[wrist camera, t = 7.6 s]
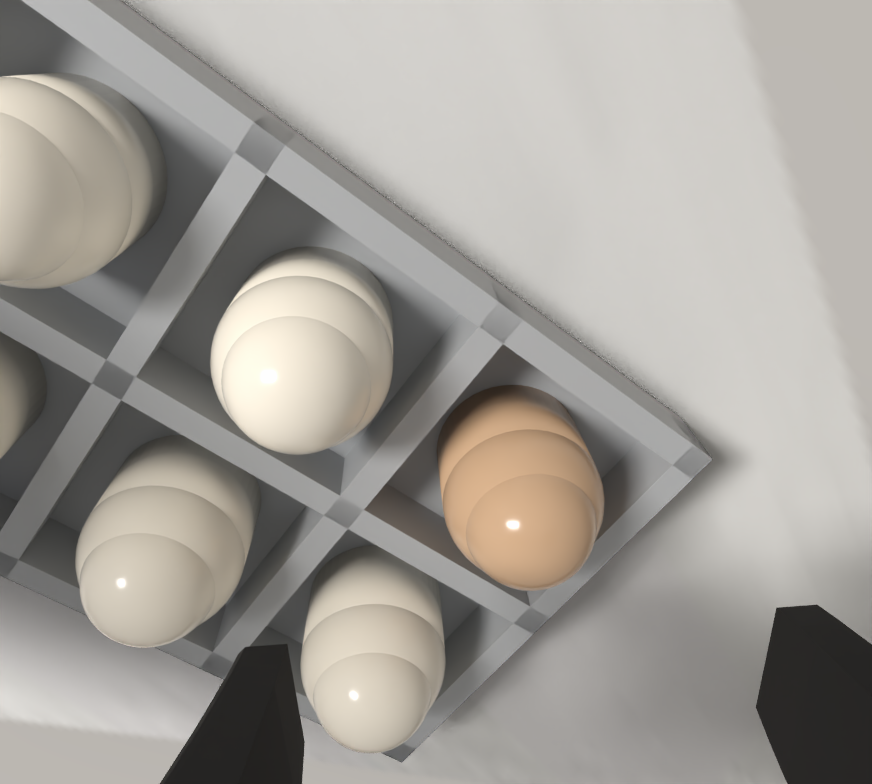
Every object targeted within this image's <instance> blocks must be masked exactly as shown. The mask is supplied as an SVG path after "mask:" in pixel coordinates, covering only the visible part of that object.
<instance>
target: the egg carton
mask: <svg viewBox="0 0 872 784" xmlns="http://www.w3.org/2000/svg"><path fill="white" fill-rule="evenodd" d="M56 72H60V73H72V74H77V75H82V76H86V77H89V78H92V79H95V80H97V81H99V82H101V83H103V84H105V85H107V86H109V87H111V88H112V89H114V90H116V91H117V92H119V93H120V94H121V95H123V96H124V97H125V98H126V99H128V100H129V101H130V102H131V103H132V104H133V105H134V106H135V107H136V108H137V109H138V110H139V111H140V112H141V114H142V115H143V116H144V117H145V119H146V120H147V121H148V123H149V124H150V126H151V127H152V129H153V131H154V132H155V134H156V136H157V138H158V141H159V143H160V145H161V148H162V151H163V154H164V158H165V162H166V167H167V177H168V182H167V194H166V199H165V203H164V206H163V209H162V212H161V214H160V216H159V218H158V220H157V221H156V223H155V224H154V225H153V227H152V228H151V229H150V230H149V231H148V232H147V233H146V234H145V235H144V236H143V237H142V238H141V239H139V240H138V241H137V242H135V243H134V244H133V245H131V246H130V247H129V248H127V249H126V250H125V251H123V252H122V253H121V254H119V255H118V256H117V257H116V258H114V259H113V260H112V261H110V262H109V263H108V264H106V265H105V266H104V267H102V268H101V269H100V270H98V271H97V272H95V273H93V274H91V275H90V276H88V277H86V278H84V279H82V280H80V281H77V282H74V283H72V284H68V285H63V286H59V287H54V288H45V289H28V288H17V287H10V286H6V285H2V284H0V332H2V333H4V334H5V335H7V336H9V337H11V338H12V339H14V340H16V341H18V342H20V343H21V344H23V345H25V346H27V347H28V348H30V349H32V350H34V351H35V352H36V354H37V355H38V357H39V359H40V361H41V363H42V366H43V369H44V372H45V377H46V382H47V395H46V401H45V405H44V408H43V410H42V412H41V414H40V416H39V418H38V419H37V420H36V422H35V423H34V424H33V425H32V426H31V427H30V428H29V429H28V430H27V431H26V432H25V434H24V435H23V436H22V437H21V438H20V439H19V440H18V441H17V442H16V443H15V444H14V445H13V446H12V447H11V448H10V449H9V450H8V451H7V452H6V453H5V454H4V455H3V457H2V458H1V459H0V576H3V577H5V578H7V579H9V580H11V581H13V582H15V583H18V584H20V585H22V586H24V587H26V588H28V589H30V590H33V591H35V592H37V593H39V594H41V595H43V596H45V597H48V598H50V599H52V600H54V601H56V602H58V603H61V604H63V605H65V606H67V607H69V608H71V609H73V610H76V611H78V612H80V613H82V614H84V615H86V616H87V614H86V612H85V610H84V608H83V605H82V602H81V596H80V586H79V583H78V579H77V574H76V568H75V557H76V548H77V543H78V539H79V536H80V533H81V530H82V528H83V526H84V524H85V522H86V520H87V519H88V517H89V515H90V513H91V512H92V510H93V509H94V507H95V506H96V504H97V503H98V501H99V500H100V498H101V496H102V495H103V493H104V492H105V490H106V489H107V487H108V486H109V484H110V483H111V481H112V480H113V478H114V476H115V475H116V473H117V472H118V470H119V469H120V467H121V466H122V464H123V463H124V461H125V460H126V459H127V457H128V456H129V455H130V454H131V453H132V452H133V451H134V450H135V449H137V448H138V447H140V446H141V445H143V444H145V443H147V442H149V441H151V440H154V439H157V438H160V437H165V436H171V435H183V436H185V437H187V438H188V439H190V440H192V441H194V442H195V443H197V444H199V445H201V446H203V447H204V448H206V449H208V450H210V451H211V452H213V453H215V454H217V455H218V456H220V457H222V458H224V459H225V460H227V461H229V462H231V463H232V464H234V465H236V466H238V467H239V468H241V469H243V470H245V471H247V472H248V473H250V474H252V475H254V476H255V477H256V479H257V482H258V485H259V488H260V493H261V509H260V513H259V517H258V520H257V524H256V527H255V531H254V534H253V538H252V541H251V545H250V548H249V552H248V555H247V558H246V562H245V565H244V569H243V572H242V575H241V578H240V581H239V583H238V585H237V587H236V589H235V591H234V592H233V594H232V595H231V597H230V598H229V600H228V601H227V602H226V603H225V604H224V605H223V607H222V608H221V609H220V610H219V611H218V612H217V613H216V614H214V615H213V616H212V617H211V618H209V619H208V620H206V621H205V622H203V623H202V624H200V625H199V626H197V627H196V628H195V629H194V630H192V631H191V632H190V633H188V634H187V635H185V636H184V637H182V638H180V639H178V640H176V641H173V642H171V643H169V644H165V645H161V646H156V647H155V648H157V649H159V650H161V651H164V652H166V653H168V654H170V655H172V656H174V657H176V658H179V659H181V660H183V661H185V662H187V663H189V664H191V665H194V666H196V667H198V668H200V669H202V670H204V671H206V672H209V673H211V674H213V675H215V676H217V677H219V678H221V679H225V677H226V676H227V674H228V672H229V670H230V668H231V667H232V665H233V663H234V661H235V659H236V657H237V655H238V654H239V652H241V651H242V650H243V649H244V648H245V647H250V646H264V645H277V644H288V650H289V656H290V662H291V667H292V673H293V679H294V685H295V691H296V696H297V702H298V708H299V714H300V715H301V716H303V717H305V718H307V719H310V720H312V721H314V722H316V723H318V724H320V725H321V723H320V721H319V719H318V716H317V714H316V711H315V710H314V709H313V707H312V705H311V704H310V702H309V700H308V698H307V696H306V693H305V690H304V687H303V683H302V678H301V666H300V662H301V652H302V646H303V639H304V632H305V626H306V619H307V613H308V606H309V600H310V593H311V587H312V584H313V581H314V579H315V577H316V575H317V573H318V572H319V571H320V569H321V568H322V567H323V566H324V565H325V564H326V563H327V562H328V561H329V560H331V559H332V558H333V557H335V556H337V555H338V554H340V553H343V552H345V551H347V550H350V549H353V548H357V547H362V546H370V545H377V546H378V547H380V548H382V549H384V550H386V551H387V552H389V553H391V554H393V555H394V556H396V557H398V558H400V559H401V560H403V561H405V562H407V563H408V564H410V565H412V566H414V567H415V568H417V569H419V570H421V571H422V572H424V573H426V574H428V575H430V576H431V577H433V578H435V579H437V581H438V584H439V588H440V598H441V610H442V622H443V633H444V645H445V657H446V664H445V673H444V679H443V682H442V686H441V689H440V691H439V694H438V696H437V698H436V700H435V701H434V703H433V705H432V706H431V708H430V709H429V711H428V712H427V714H426V716H425V719H424V720H423V722H422V724H421V725H420V727H419V728H418V729H417V731H416V732H415V733H414V734H413V735H412V736H411V737H410V738H409V739H408V740H407V741H405V742H404V743H402V744H401V745H399V746H397V747H396V748H393V749H391V750H388V751H385V752H380V753H382V754H385V755H387V756H389V757H391V758H393V759H395V760H398V761H400V762H403V761H404V760H405V759H406V758H407V757H408V756H409V755H410V754H411V753H412V752H413V751H414V750H415V749H416V748H417V747H418V746H419V745H420V744H421V743H422V742H423V741H424V740H425V739H426V738H427V737H428V736H429V735H430V734H431V733H433V732H434V731H435V730H436V729H437V728H438V727H439V726H440V725H441V724H442V723H443V722H444V721H445V720H446V719H447V718H448V717H449V716H450V715H451V714H452V713H453V712H454V711H455V710H456V709H457V708H458V707H459V706H460V705H461V704H462V703H463V702H464V701H465V700H466V699H467V698H468V697H469V696H470V695H471V694H473V693H474V692H475V691H476V690H477V689H478V688H479V687H480V686H481V685H482V684H483V683H484V682H485V681H486V680H487V679H488V678H489V677H490V676H491V675H492V674H493V673H494V672H495V671H496V670H497V669H498V668H499V667H500V666H501V665H502V664H503V663H504V662H505V661H506V660H507V659H508V658H509V657H510V656H511V655H513V654H514V653H515V652H516V651H517V650H518V649H519V648H520V647H521V646H522V645H523V644H524V643H525V642H526V641H527V640H528V639H529V638H530V637H531V636H532V635H533V634H534V633H535V632H536V631H537V630H538V629H539V628H540V627H541V626H542V625H543V624H544V623H545V622H546V621H547V620H548V619H549V618H550V617H552V616H553V615H554V614H555V613H556V612H557V611H558V610H559V609H560V608H561V607H562V606H563V605H564V604H565V603H566V602H567V601H568V600H569V599H570V598H571V597H572V596H573V595H574V594H575V593H576V592H577V591H578V590H579V589H580V588H581V587H582V586H583V585H584V584H585V583H586V582H587V581H588V580H589V579H590V578H592V577H593V576H594V575H595V574H596V573H597V572H598V571H599V570H600V569H601V568H602V567H603V566H604V565H605V564H606V563H607V562H608V561H609V560H610V559H611V558H612V557H613V556H614V555H615V554H616V553H617V552H618V551H619V550H620V549H621V548H622V547H623V546H624V545H625V544H626V543H627V542H628V541H629V540H631V539H632V538H633V537H634V536H635V535H636V534H637V533H638V532H639V531H640V530H641V529H642V528H643V527H644V526H645V525H646V524H647V523H648V522H649V521H650V520H651V519H652V518H653V517H654V516H655V515H656V514H657V513H658V512H659V511H660V510H661V509H662V508H663V507H664V506H665V505H666V504H667V503H668V502H669V501H671V500H672V499H673V498H674V497H675V496H676V495H677V494H678V493H679V492H680V491H681V490H682V489H683V488H684V487H685V486H686V485H687V484H688V483H689V482H690V481H691V480H692V479H693V478H694V477H695V476H696V475H697V474H698V473H699V472H700V471H701V470H702V469H703V468H704V467H705V466H706V465H707V464H708V463H709V462H711V461H712V460H713V459H712V458H711V456H710V455H709V454H708V452H707V451H706V450H705V448H704V447H703V446H702V445H701V443H700V442H699V441H698V439H697V438H696V437H695V436H694V434H693V433H692V432H691V430H690V429H689V428H688V427H687V425H686V424H685V423H684V421H683V420H682V419H681V418H680V417H679V416H678V415H676V414H675V413H674V412H672V411H671V410H669V409H668V408H667V407H665V406H664V405H663V404H661V403H660V402H659V401H657V400H656V399H655V398H653V397H652V396H651V395H649V394H648V393H647V392H645V391H644V390H643V389H641V388H640V387H639V386H637V385H636V384H635V383H633V382H632V381H631V380H629V379H628V378H627V377H625V376H624V375H623V374H621V373H620V372H618V371H617V370H616V369H614V368H613V367H612V366H610V365H609V364H608V363H606V362H605V361H604V360H602V359H601V358H600V357H598V356H597V355H596V354H594V353H593V352H592V351H590V350H589V349H588V348H586V347H585V346H584V345H582V344H581V343H580V342H578V341H577V340H576V339H574V338H573V337H572V336H570V335H569V334H567V333H566V332H565V331H563V330H562V329H561V328H559V327H558V326H557V325H555V324H554V323H553V322H551V321H550V320H549V319H547V318H546V317H545V316H543V315H542V314H541V313H539V312H538V311H537V310H535V309H534V308H533V307H531V306H530V305H529V304H527V303H526V302H525V301H523V300H522V299H520V298H519V297H518V296H516V295H515V294H514V293H512V292H511V291H510V290H508V289H507V288H506V287H504V286H503V285H502V284H500V283H499V282H498V281H496V280H495V279H494V278H492V277H491V276H490V275H488V274H487V273H486V272H484V271H483V270H482V269H480V268H479V267H478V266H476V265H475V264H474V263H472V262H471V261H469V260H468V259H467V258H465V257H464V256H463V255H461V254H460V253H459V252H457V251H456V250H455V249H453V248H452V247H451V246H449V245H448V244H447V243H445V242H444V241H443V240H441V239H440V238H439V237H437V236H436V235H435V234H433V233H432V232H431V231H429V230H428V229H427V228H425V227H424V226H422V225H421V224H420V223H418V222H417V221H416V220H414V219H413V218H412V217H410V216H409V215H408V214H406V213H405V212H404V211H402V210H401V209H400V208H398V207H397V206H396V205H394V204H393V203H392V202H390V201H389V200H388V199H386V198H385V197H384V196H382V195H381V194H380V193H378V192H377V191H376V190H374V189H373V188H371V187H370V186H369V185H367V184H366V183H365V182H363V181H362V180H361V179H359V178H358V177H357V176H355V175H354V174H353V173H351V172H350V171H349V170H347V169H346V168H345V167H343V166H342V165H341V164H339V163H338V162H337V161H335V160H334V159H333V158H331V157H330V156H329V155H327V154H326V153H325V152H323V151H322V150H320V149H319V148H318V147H316V146H315V145H314V144H312V143H311V142H310V141H308V140H307V139H306V138H304V137H303V136H302V135H300V134H299V133H298V132H296V131H295V130H294V129H292V128H291V127H290V126H288V125H287V124H286V123H284V122H283V121H282V120H280V119H279V118H278V117H276V116H275V115H273V114H272V113H271V112H269V111H268V110H267V109H265V108H264V107H263V106H261V105H260V104H259V103H257V102H256V101H255V100H253V99H252V98H251V97H249V96H248V95H247V94H245V93H244V92H243V91H241V90H240V89H239V88H237V87H236V86H235V85H233V84H232V83H231V82H229V81H228V80H227V79H225V78H224V77H222V76H221V75H220V74H218V73H217V72H216V71H214V70H213V69H212V68H210V67H209V66H208V65H206V64H205V63H204V62H202V61H201V60H200V59H198V58H197V57H196V56H194V55H193V54H192V53H190V52H189V51H188V50H186V49H185V48H184V47H182V46H181V45H180V44H178V43H177V42H176V41H174V40H173V39H171V38H170V37H169V36H167V35H166V34H165V33H163V32H162V31H161V30H159V29H158V28H157V27H155V26H154V25H153V24H151V23H150V22H149V21H147V20H146V19H145V18H143V17H142V16H141V15H139V14H138V13H137V12H135V11H134V10H133V9H131V8H130V7H129V6H127V5H126V4H124V3H123V2H122V1H120V0H0V77H2V76H15V75H29V74H43V73H56ZM305 246H314V247H324V248H329V249H333V250H336V251H339V252H342V253H344V254H346V255H349V256H351V257H352V258H354V259H356V260H357V261H359V262H360V263H361V264H363V265H364V266H365V267H366V268H368V269H369V270H370V271H371V272H372V273H373V275H374V276H375V277H376V278H377V279H378V281H379V282H380V283H381V285H382V287H383V288H384V290H385V292H386V294H387V297H388V299H389V302H390V305H391V309H392V315H393V373H392V378H391V384H390V388H389V391H388V394H387V396H386V398H385V400H384V402H383V404H382V406H381V408H380V410H379V411H378V413H377V414H376V416H375V417H374V418H373V419H372V421H371V422H370V423H369V424H368V425H367V426H366V427H365V428H364V429H363V430H361V431H360V432H359V433H358V434H357V435H355V436H354V437H352V438H350V439H349V440H347V441H345V442H343V443H341V444H339V445H336V446H333V447H330V448H328V449H325V450H322V451H319V452H315V453H310V454H302V455H294V454H285V453H280V452H276V451H273V450H270V449H267V448H265V447H263V446H261V445H259V444H258V443H256V442H255V441H253V440H252V439H250V438H249V437H248V436H247V435H246V434H245V433H244V432H243V431H242V430H241V429H240V428H239V427H238V426H237V424H236V423H235V422H234V421H233V420H232V419H231V418H230V417H229V415H228V414H227V412H226V411H225V410H224V408H223V406H222V405H221V403H220V401H219V399H218V396H217V394H216V391H215V388H214V385H213V380H212V376H211V366H210V359H211V347H212V342H213V338H214V335H215V332H216V329H217V327H218V324H219V322H220V320H221V318H222V317H223V315H224V313H225V312H226V310H227V308H228V307H229V305H230V304H231V302H232V301H233V299H234V297H235V296H236V294H237V293H238V291H239V290H240V288H241V286H242V285H243V283H244V282H245V280H246V279H247V277H248V276H249V275H250V273H251V272H252V271H253V270H254V269H255V268H256V267H257V266H258V265H259V264H260V263H262V262H263V261H264V260H266V259H267V258H269V257H271V256H273V255H275V254H276V253H279V252H281V251H284V250H287V249H291V248H296V247H305ZM502 385H523V386H529V387H533V388H536V389H539V390H542V391H544V392H546V393H548V394H550V395H551V396H553V397H555V398H556V399H557V400H558V401H559V402H561V403H562V404H563V406H564V407H565V408H566V409H567V410H568V412H569V413H570V415H571V416H572V418H573V420H574V422H575V424H576V426H577V428H578V431H579V433H580V435H581V437H582V439H583V441H584V443H585V445H586V447H587V449H588V451H589V453H590V455H591V457H592V459H593V461H594V463H595V465H596V467H597V469H598V472H599V474H600V477H601V481H602V484H603V491H604V500H605V504H604V516H603V521H602V525H601V528H600V530H599V533H598V536H597V538H596V540H595V543H594V546H593V549H592V551H591V554H590V556H589V557H588V559H587V561H586V562H585V564H584V565H583V566H582V568H581V569H580V570H579V571H578V572H577V573H576V574H575V575H574V576H573V577H571V578H570V579H568V580H567V581H565V582H563V583H562V584H560V585H557V586H555V587H552V588H549V589H545V590H538V591H524V590H517V589H513V588H510V587H508V586H505V585H503V584H501V583H499V582H497V581H495V580H494V579H492V578H491V577H490V576H488V575H487V574H486V573H485V572H484V571H482V570H481V569H479V568H478V567H476V566H475V565H474V564H473V563H471V562H470V561H469V560H468V559H467V558H466V557H465V556H464V555H463V553H462V552H461V551H460V550H459V548H458V547H457V546H456V544H455V542H454V541H453V539H452V537H451V535H450V533H449V530H448V528H447V525H446V521H445V517H444V512H443V505H442V497H441V488H440V480H439V471H438V462H437V442H438V437H439V434H440V431H441V429H442V426H443V425H444V423H445V421H446V419H447V418H448V417H449V415H450V414H451V413H452V411H453V410H454V409H455V408H456V407H457V406H458V405H459V404H461V403H462V402H463V401H464V400H466V399H467V398H469V397H471V396H472V395H474V394H476V393H478V392H480V391H482V390H486V389H489V388H492V387H497V386H502Z"/></svg>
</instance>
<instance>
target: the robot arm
mask: <svg viewBox="0 0 872 784" xmlns="http://www.w3.org/2000/svg"><path fill="white" fill-rule="evenodd" d="M756 708H757V711H758V714H759V716H760V719H761V721H762V724H763V726H764V729H765V731H766V734H767V736H768V739H769V742H770V744H771V746H772V749H773V751H774V754H775V756H776V758H777V761H778V763H779V765H780V768H781V770H782V772H783V775H784V777H785V779H786V781H787V783H788V784H872V645H871V644H870V643H869V642H867V641H866V640H865V639H863V638H862V637H861V636H859V635H858V634H857V633H855V632H854V631H853V630H851V629H850V628H849V627H847V626H846V625H845V624H843V623H842V622H841V621H839V620H838V619H836V618H835V617H834V616H832V615H831V614H829V613H828V612H827V611H825V610H824V609H822V608H821V607H820V606H818V605H808V606H795V607H781V608H776V613H775V618H774V623H773V628H772V633H771V637H770V642H769V647H768V652H767V657H766V662H765V666H764V671H763V676H762V681H761V686H760V690H759V695H758V700H757V705H756ZM303 757H304V737H303V731H302V725H301V720H300V714H299V708H298V702H297V696H296V691H295V685H294V679H293V673H292V667H291V662H290V656H289V650H288V644H277V645H264V646H250V647H245V648H244V649H243V650H242V651H241V652H239V654H238V655H237V657H236V659H235V661H234V663H233V665H232V667H231V668H230V670H229V672H228V674H227V676H226V677H225V679H224V681H223V683H222V684H221V686H220V688H219V690H218V691H217V693H216V695H215V697H214V698H213V700H212V702H211V703H210V705H209V707H208V708H207V710H206V712H205V713H204V715H203V717H202V718H201V720H200V722H199V723H198V725H197V727H196V728H195V730H194V732H193V733H192V735H191V736H190V738H189V739H188V741H187V743H186V744H185V746H184V747H183V749H182V750H181V752H180V754H179V755H178V757H177V758H176V760H175V761H174V763H173V764H172V766H171V767H170V769H169V771H168V772H167V774H166V775H165V777H164V778H163V780H162V781H161V783H160V784H302V772H303Z"/></svg>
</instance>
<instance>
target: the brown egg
mask: <svg viewBox="0 0 872 784" xmlns="http://www.w3.org/2000/svg"><path fill="white" fill-rule="evenodd" d="M437 462H438V471H439V480H440V488H441V497H442V505H443V512H444V517H445V521H446V525H447V528H448V530H449V533H450V535H451V537H452V539H453V541H454V542H455V544H456V546H457V547H458V548H459V550H460V551H461V552H462V553H463V555H464V556H465V557H466V558H467V559H468V560H469V561H470V562H471V563H473V564H474V565H475V566H476V567H478V568H479V569H481V570H482V571H484V572H485V573H486V574H487V575H488V576H490V577H491V578H492V579H494V580H495V581H497V582H499V583H501V584H503V585H505V586H508V587H510V588H513V589H517V590H524V591H538V590H545V589H549V588H552V587H555V586H557V585H560V584H562V583H563V582H565V581H567V580H568V579H570V578H571V577H573V576H574V575H575V574H576V573H577V572H578V571H579V570H580V569H581V568H582V566H583V565H584V564H585V562H586V561H587V559H588V557H589V556H590V554H591V551H592V549H593V546H594V543H595V540H596V538H597V536H598V533H599V530H600V528H601V525H602V521H603V516H604V504H605V500H604V491H603V484H602V481H601V477H600V474H599V472H598V469H597V467H596V465H595V463H594V461H593V459H592V457H591V455H590V453H589V451H588V449H587V447H586V445H585V443H584V441H583V439H582V437H581V435H580V433H579V431H578V428H577V426H576V424H575V422H574V420H573V418H572V416H571V415H570V413H569V412H568V410H567V409H566V408H565V407H564V406H563V404H562V403H561V402H559V401H558V400H557V399H556V398H555V397H553V396H551V395H550V394H548V393H546V392H544V391H542V390H539V389H536V388H533V387H529V386H523V385H502V386H497V387H492V388H489V389H486V390H482V391H480V392H478V393H476V394H474V395H472V396H471V397H469V398H467V399H466V400H464V401H463V402H462V403H461V404H459V405H458V406H457V407H456V408H455V409H454V410H453V411H452V413H451V414H450V415H449V417H448V418H447V419H446V421H445V423H444V425H443V426H442V429H441V431H440V434H439V437H438V442H437Z"/></svg>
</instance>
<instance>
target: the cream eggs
mask: <svg viewBox="0 0 872 784" xmlns="http://www.w3.org/2000/svg"><path fill="white" fill-rule="evenodd" d="M167 182H168V177H167V167H166V162H165V158H164V154H163V151H162V148H161V145H160V143H159V141H158V138H157V136H156V134H155V132H154V131H153V129H152V127H151V126H150V124H149V123H148V121H147V120H146V119H145V117H144V116H143V115H142V114H141V112H140V111H139V110H138V109H137V108H136V107H135V106H134V105H133V104H132V103H131V102H130V101H129V100H128V99H126V98H125V97H124V96H123V95H121V94H120V93H119V92H117V91H116V90H114V89H112V88H111V87H109V86H107V85H105V84H103V83H101V82H99V81H97V80H95V79H92V78H89V77H86V76H82V75H77V74H72V73H60V72H56V73H43V74H29V75H15V76H2V77H0V284H2V285H6V286H10V287H17V288H28V289H45V288H54V287H59V286H63V285H68V284H72V283H74V282H77V281H80V280H82V279H84V278H86V277H88V276H90V275H91V274H93V273H95V272H97V271H98V270H100V269H101V268H102V267H104V266H105V265H106V264H108V263H109V262H110V261H112V260H113V259H114V258H116V257H117V256H118V255H119V254H121V253H122V252H123V251H125V250H126V249H127V248H129V247H130V246H131V245H133V244H134V243H135V242H137V241H138V240H139V239H141V238H142V237H143V236H144V235H145V234H146V233H147V232H148V231H149V230H150V229H151V228H152V227H153V225H154V224H155V223H156V221H157V220H158V218H159V216H160V214H161V212H162V209H163V206H164V203H165V199H166V194H167ZM210 366H211V376H212V380H213V385H214V388H215V391H216V394H217V396H218V399H219V401H220V403H221V405H222V406H223V408H224V410H225V411H226V412H227V414H228V415H229V417H230V418H231V419H232V420H233V421H234V422H235V423H236V424H237V426H238V427H239V428H240V429H241V430H242V431H243V432H244V433H245V434H246V435H247V436H248V437H249V438H250V439H252V440H253V441H255V442H256V443H258V444H259V445H261V446H263V447H265V448H267V449H270V450H273V451H276V452H280V453H285V454H294V455H302V454H310V453H315V452H319V451H322V450H325V449H328V448H330V447H333V446H336V445H339V444H341V443H343V442H345V441H347V440H349V439H350V438H352V437H354V436H355V435H357V434H358V433H359V432H360V431H361V430H363V429H364V428H365V427H366V426H367V425H368V424H369V423H370V422H371V421H372V419H373V418H374V417H375V416H376V414H377V413H378V411H379V410H380V408H381V406H382V404H383V402H384V400H385V398H386V396H387V394H388V391H389V388H390V384H391V378H392V373H393V315H392V309H391V305H390V302H389V299H388V297H387V294H386V292H385V290H384V288H383V287H382V285H381V283H380V282H379V281H378V279H377V278H376V277H375V276H374V275H373V273H372V272H371V271H370V270H369V269H368V268H366V267H365V266H364V265H363V264H361V263H360V262H359V261H357V260H356V259H354V258H352V257H351V256H349V255H346V254H344V253H342V252H339V251H336V250H333V249H329V248H324V247H314V246H305V247H296V248H291V249H287V250H284V251H281V252H279V253H276V254H275V255H273V256H271V257H269V258H267V259H266V260H264V261H263V262H262V263H260V264H259V265H258V266H257V267H256V268H255V269H254V270H253V271H252V272H251V273H250V275H249V276H248V277H247V279H246V280H245V282H244V283H243V285H242V286H241V288H240V290H239V291H238V293H237V294H236V296H235V297H234V299H233V301H232V302H231V304H230V305H229V307H228V308H227V310H226V312H225V313H224V315H223V317H222V318H221V320H220V322H219V324H218V327H217V329H216V332H215V335H214V338H213V342H212V347H211V359H210ZM46 395H47V382H46V377H45V372H44V369H43V366H42V363H41V361H40V359H39V357H38V355H37V354H36V352H35V351H34V350H32V349H30V348H28V347H27V346H25V345H23V344H21V343H20V342H18V341H16V340H14V339H12V338H11V337H9V336H7V335H5V334H4V333H2V332H0V459H1V458H2V457H3V455H4V454H5V453H6V452H7V451H8V450H9V449H10V448H11V447H12V446H13V445H14V444H15V443H16V442H17V441H18V440H19V439H20V438H21V437H22V436H23V435H24V434H25V432H26V431H27V430H28V429H29V428H30V427H31V426H32V425H33V424H34V423H35V422H36V420H37V419H38V418H39V416H40V414H41V412H42V410H43V408H44V405H45V401H46ZM260 509H261V493H260V488H259V485H258V482H257V479H256V477H255V476H254V475H252V474H250V473H248V472H247V471H245V470H243V469H241V468H239V467H238V466H236V465H234V464H232V463H231V462H229V461H227V460H225V459H224V458H222V457H220V456H218V455H217V454H215V453H213V452H211V451H210V450H208V449H206V448H204V447H203V446H201V445H199V444H197V443H195V442H194V441H192V440H190V439H188V438H187V437H185V436H183V435H171V436H165V437H160V438H157V439H154V440H151V441H149V442H147V443H145V444H143V445H141V446H140V447H138V448H137V449H135V450H134V451H133V452H132V453H131V454H130V455H129V456H128V457H127V459H126V460H125V461H124V463H123V464H122V466H121V467H120V469H119V470H118V472H117V473H116V475H115V476H114V478H113V480H112V481H111V483H110V484H109V486H108V487H107V489H106V490H105V492H104V493H103V495H102V496H101V498H100V500H99V501H98V503H97V504H96V506H95V507H94V509H93V510H92V512H91V513H90V515H89V517H88V519H87V520H86V522H85V524H84V526H83V528H82V530H81V533H80V536H79V539H78V543H77V548H76V557H75V568H76V574H77V579H78V583H79V586H80V596H81V602H82V605H83V608H84V610H85V612H86V614H87V616H88V618H89V620H90V621H91V622H92V624H93V625H94V626H95V627H96V628H97V629H98V630H99V631H100V632H101V633H102V634H103V635H105V636H106V637H108V638H109V639H111V640H113V641H115V642H118V643H120V644H123V645H127V646H131V647H139V648H148V647H156V646H161V645H165V644H169V643H171V642H173V641H176V640H178V639H180V638H182V637H184V636H185V635H187V634H188V633H190V632H191V631H192V630H194V629H195V628H196V627H197V626H199V625H200V624H202V623H203V622H205V621H206V620H208V619H209V618H211V617H212V616H213V615H214V614H216V613H217V612H218V611H219V610H220V609H221V608H222V607H223V605H224V604H225V603H226V602H227V601H228V600H229V598H230V597H231V595H232V594H233V592H234V591H235V589H236V587H237V585H238V583H239V581H240V578H241V575H242V572H243V569H244V565H245V562H246V558H247V555H248V552H249V548H250V545H251V541H252V538H253V534H254V531H255V527H256V524H257V520H258V517H259V513H260ZM445 664H446V657H445V645H444V633H443V622H442V610H441V598H440V588H439V584H438V581H437V579H435V578H433V577H431V576H430V575H428V574H426V573H424V572H422V571H421V570H419V569H417V568H415V567H414V566H412V565H410V564H408V563H407V562H405V561H403V560H401V559H400V558H398V557H396V556H394V555H393V554H391V553H389V552H387V551H386V550H384V549H382V548H380V547H378V546H377V545H370V546H362V547H357V548H353V549H350V550H347V551H345V552H343V553H340V554H338V555H337V556H335V557H333V558H332V559H331V560H329V561H328V562H327V563H326V564H325V565H324V566H323V567H322V568H321V569H320V571H319V572H318V573H317V575H316V577H315V579H314V581H313V584H312V587H311V593H310V600H309V606H308V613H307V619H306V626H305V632H304V639H303V646H302V652H301V662H300V666H301V678H302V683H303V687H304V690H305V693H306V696H307V698H308V700H309V702H310V704H311V705H312V707H313V709H314V710H315V711H316V714H317V716H318V719H319V721H320V723H321V725H322V726H323V728H324V729H325V730H326V732H327V733H328V734H329V735H330V737H332V738H333V739H334V740H335V741H336V742H338V743H339V744H340V745H342V746H344V747H346V748H348V749H350V750H353V751H356V752H361V753H380V752H385V751H388V750H391V749H393V748H396V747H397V746H399V745H401V744H402V743H404V742H405V741H407V740H408V739H409V738H410V737H411V736H412V735H413V734H414V733H415V732H416V731H417V729H418V728H419V727H420V725H421V724H422V722H423V720H424V719H425V716H426V714H427V712H428V711H429V709H430V708H431V706H432V705H433V703H434V701H435V700H436V698H437V696H438V694H439V691H440V689H441V686H442V682H443V679H444V673H445Z"/></svg>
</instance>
